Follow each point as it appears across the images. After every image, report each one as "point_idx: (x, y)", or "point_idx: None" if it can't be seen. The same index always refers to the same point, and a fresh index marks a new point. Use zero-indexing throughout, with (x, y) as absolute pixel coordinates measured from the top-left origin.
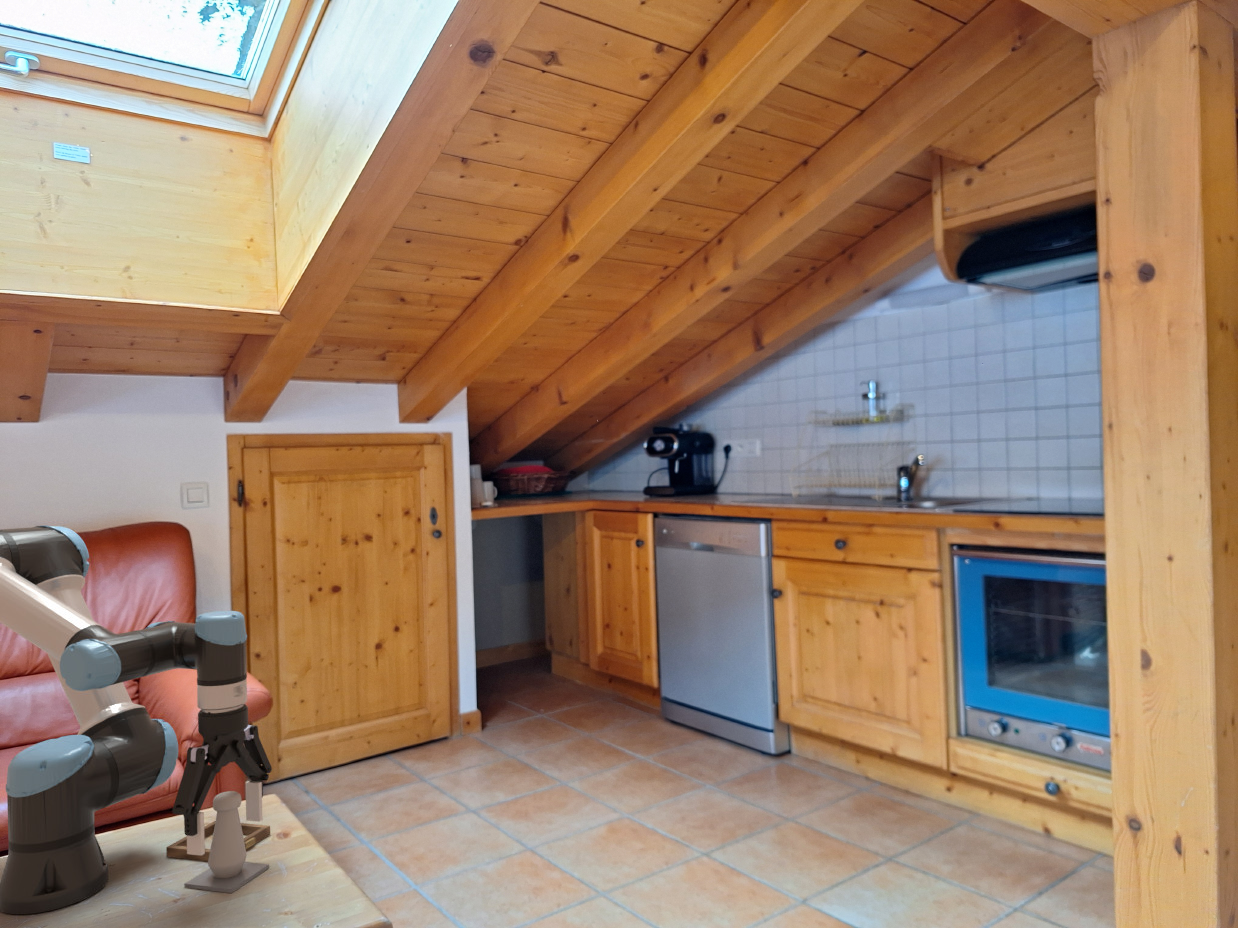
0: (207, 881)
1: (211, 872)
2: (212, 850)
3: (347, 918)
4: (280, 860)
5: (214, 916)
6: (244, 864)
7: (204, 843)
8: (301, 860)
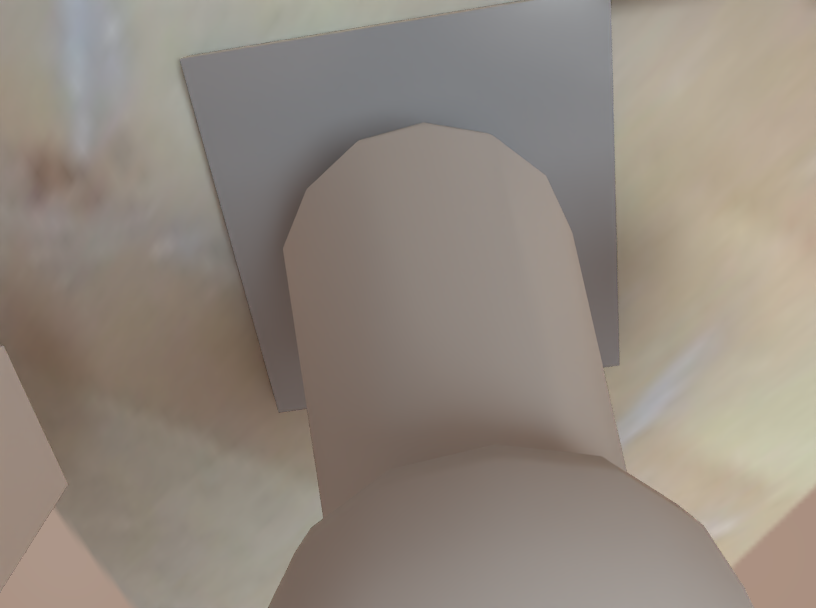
0: (281, 195)
1: (395, 96)
2: (293, 292)
3: None
4: (722, 338)
5: (74, 506)
6: (574, 221)
7: (22, 553)
8: (744, 444)
